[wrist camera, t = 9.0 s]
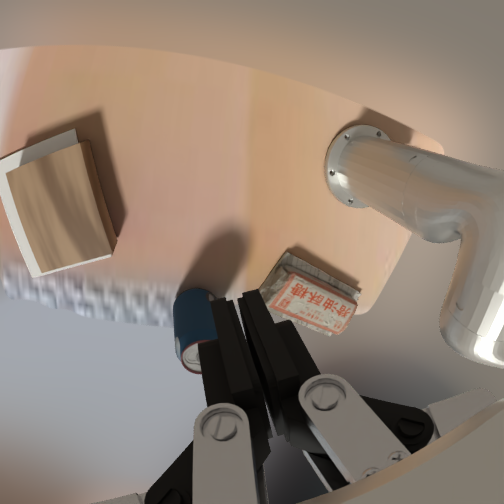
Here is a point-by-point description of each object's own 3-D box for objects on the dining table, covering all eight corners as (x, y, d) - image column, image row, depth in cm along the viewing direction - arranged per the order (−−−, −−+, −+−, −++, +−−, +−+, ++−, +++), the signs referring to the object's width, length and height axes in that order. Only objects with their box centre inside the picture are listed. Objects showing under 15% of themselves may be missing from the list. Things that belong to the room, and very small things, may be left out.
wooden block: (79, 142, 29) (5, 173, 28) (112, 253, 36) (41, 273, 34) (88, 139, 33) (19, 166, 31) (117, 240, 39) (50, 259, 38)
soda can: (167, 316, 46) (169, 372, 36) (180, 279, 44) (185, 332, 34) (208, 325, 49) (220, 381, 38) (224, 291, 47) (241, 344, 36)
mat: (75, 128, 32) (74, 128, 31) (112, 255, 40) (111, 256, 40) (-7, 164, 30) (-9, 164, 29) (33, 276, 38) (32, 278, 38)
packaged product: (255, 318, 45) (295, 263, 42) (248, 299, 49) (284, 248, 47) (337, 348, 52) (373, 305, 50) (326, 331, 57) (359, 290, 54)
